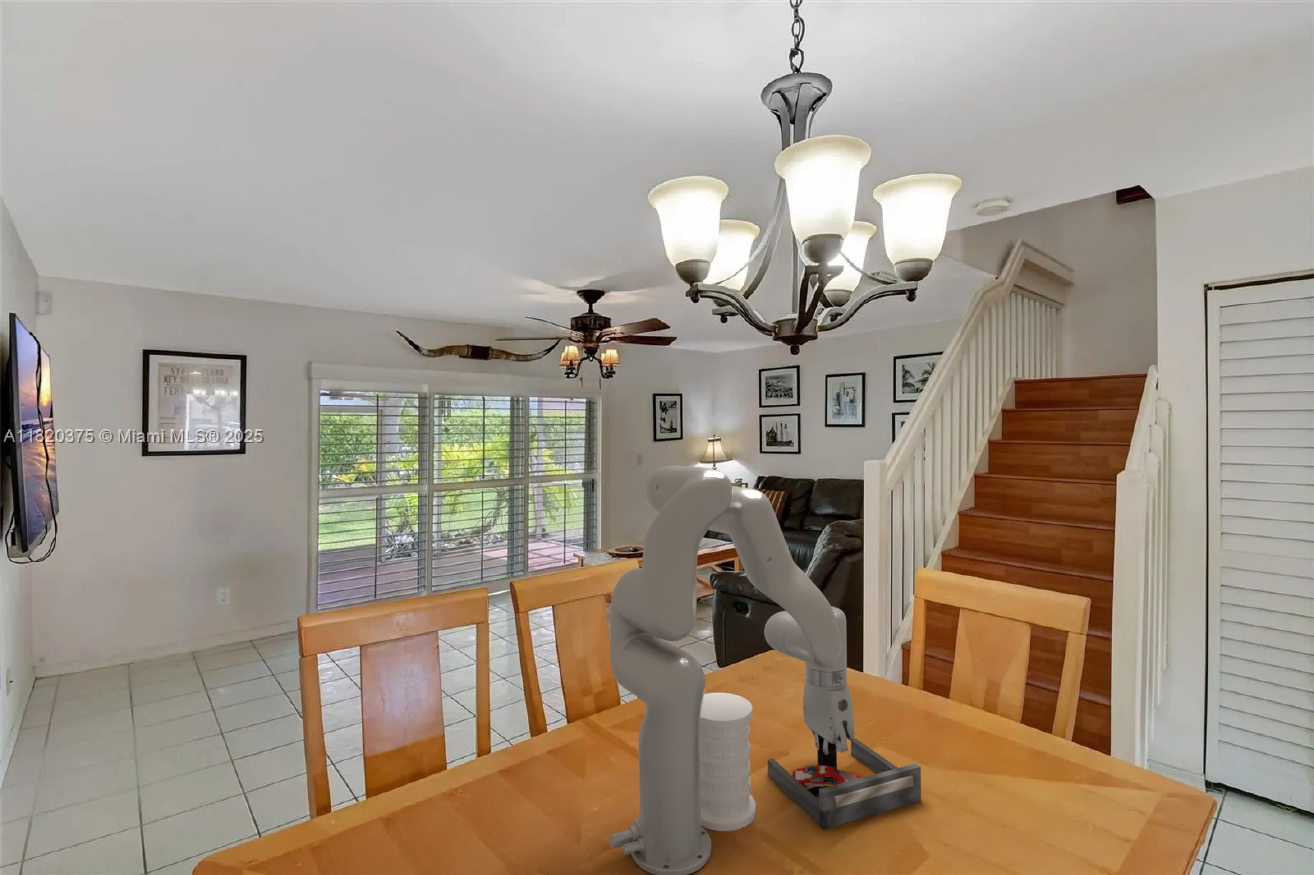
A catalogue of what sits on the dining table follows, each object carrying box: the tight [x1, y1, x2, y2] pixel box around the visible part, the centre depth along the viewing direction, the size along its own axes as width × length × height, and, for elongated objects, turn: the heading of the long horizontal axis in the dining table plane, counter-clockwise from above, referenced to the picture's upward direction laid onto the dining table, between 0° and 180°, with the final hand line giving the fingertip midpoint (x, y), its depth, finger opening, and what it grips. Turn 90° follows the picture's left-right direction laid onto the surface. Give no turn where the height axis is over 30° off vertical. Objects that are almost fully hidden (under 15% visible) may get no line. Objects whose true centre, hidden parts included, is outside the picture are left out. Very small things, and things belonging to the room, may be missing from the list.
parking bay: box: [767, 737, 922, 830], centre depth 113 cm, size 20×18×6 cm
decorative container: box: [700, 692, 757, 832], centre depth 107 cm, size 12×12×18 cm
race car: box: [791, 764, 863, 798], centre depth 113 cm, size 13×5×4 cm, turn 86°
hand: (827, 770), depth 117 cm, fingers closed
